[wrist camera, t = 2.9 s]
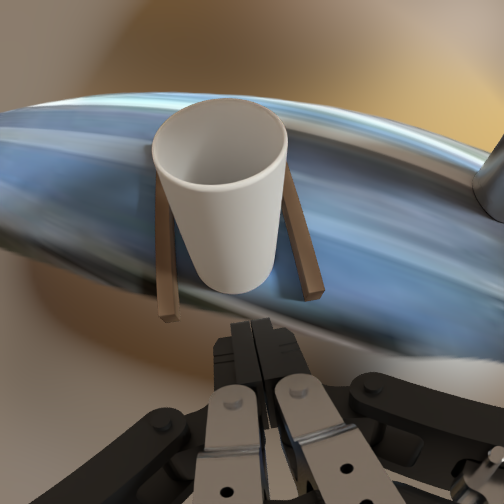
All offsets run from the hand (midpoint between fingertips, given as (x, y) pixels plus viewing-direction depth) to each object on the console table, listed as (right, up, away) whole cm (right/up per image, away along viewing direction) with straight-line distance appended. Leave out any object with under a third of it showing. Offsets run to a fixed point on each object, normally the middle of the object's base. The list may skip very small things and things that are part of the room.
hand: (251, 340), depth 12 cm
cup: (-2, +3, +20) cm, 20 cm away
